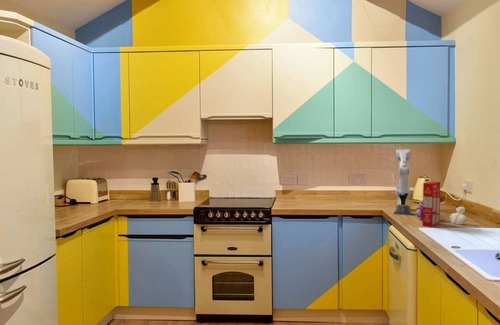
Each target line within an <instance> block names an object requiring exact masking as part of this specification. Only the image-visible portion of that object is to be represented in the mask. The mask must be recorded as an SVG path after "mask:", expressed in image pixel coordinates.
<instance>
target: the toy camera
mask: <svg viewBox="0 0 500 325" xmlns="http://www.w3.org/2000/svg"><path fill="white" fill-rule="evenodd" d="M418 206H419V207H416V209H415V216H416V217H417V218H419V219H421V220H423V203H421V204H419V205H418Z"/></svg>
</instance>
